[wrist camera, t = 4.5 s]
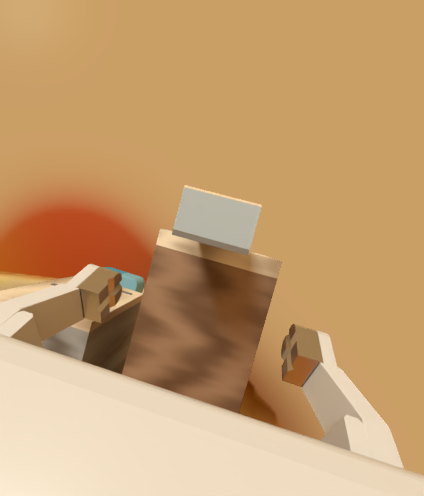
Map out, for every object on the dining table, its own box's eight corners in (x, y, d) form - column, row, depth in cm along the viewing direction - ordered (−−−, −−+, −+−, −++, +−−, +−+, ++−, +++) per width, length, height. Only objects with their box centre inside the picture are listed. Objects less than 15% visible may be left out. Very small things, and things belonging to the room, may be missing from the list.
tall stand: (89, 498, 23) (160, 228, 22) (141, 406, 36) (188, 234, 35) (201, 541, 22) (282, 261, 21) (214, 430, 35) (263, 255, 34)
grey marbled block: (-42, 447, 24) (-5, 290, 23) (55, 376, 37) (81, 274, 36) (50, 483, 23) (91, 321, 22) (116, 397, 36) (144, 293, 35)
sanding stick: (171, 234, 12) (184, 185, 12) (211, 240, 34) (216, 223, 34) (247, 255, 12) (261, 205, 12) (239, 248, 34) (244, 230, 34)
